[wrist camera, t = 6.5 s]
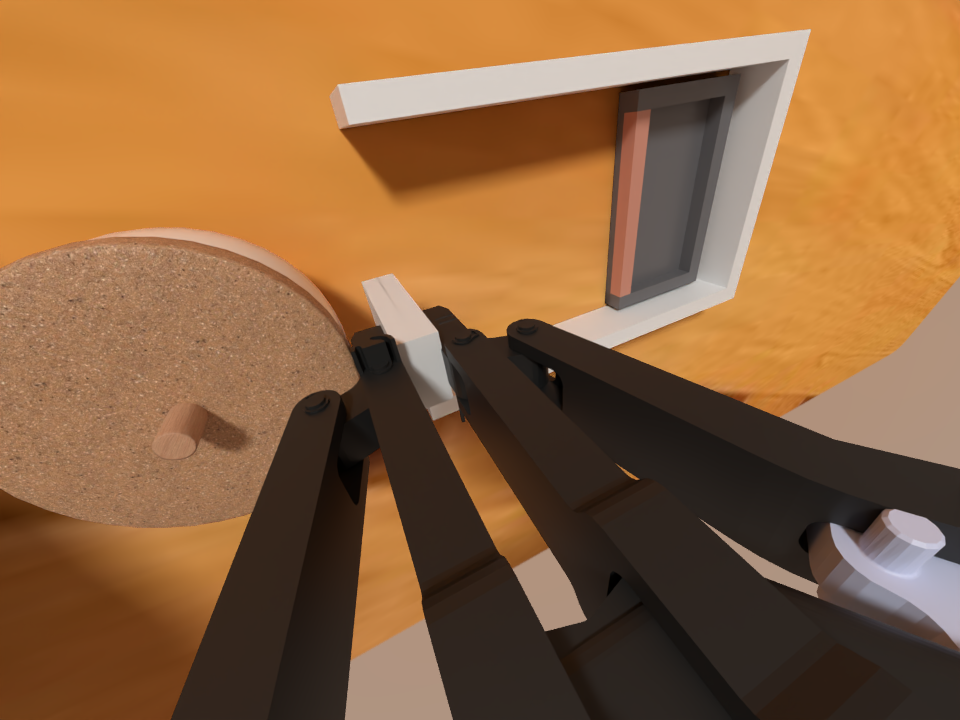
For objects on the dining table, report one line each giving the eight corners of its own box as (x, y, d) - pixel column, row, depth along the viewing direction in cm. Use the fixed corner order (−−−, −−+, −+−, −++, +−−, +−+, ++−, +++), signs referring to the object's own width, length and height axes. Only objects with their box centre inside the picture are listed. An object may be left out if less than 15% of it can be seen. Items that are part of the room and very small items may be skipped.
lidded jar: (379, 278, 19) (424, 358, 12) (296, 428, 22) (292, 573, 14) (119, 144, 13) (-110, 141, 6) (43, 373, 16) (-188, 575, 8)
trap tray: (604, 302, 28) (618, 309, 27) (619, 93, 21) (639, 89, 19) (680, 275, 30) (695, 280, 29) (717, 77, 23) (741, 73, 22)
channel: (417, 390, 24) (433, 420, 22) (329, 96, 15) (337, 84, 13) (695, 285, 32) (733, 297, 29) (748, 43, 23) (811, 29, 20)
